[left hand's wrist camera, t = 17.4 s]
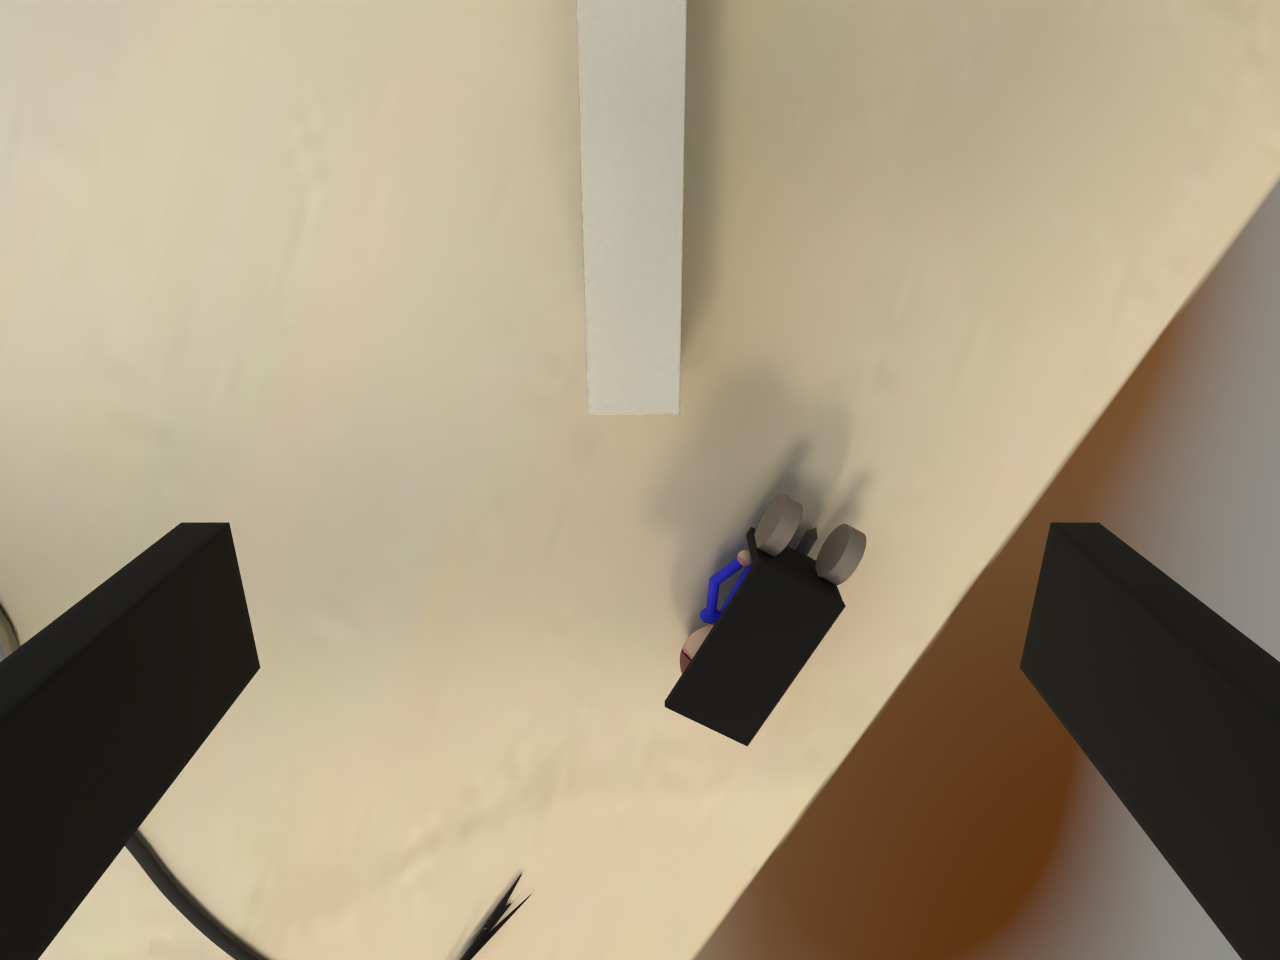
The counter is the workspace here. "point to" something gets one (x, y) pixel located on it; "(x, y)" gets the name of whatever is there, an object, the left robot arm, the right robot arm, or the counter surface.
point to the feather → (491, 925)
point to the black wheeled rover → (763, 623)
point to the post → (632, 200)
